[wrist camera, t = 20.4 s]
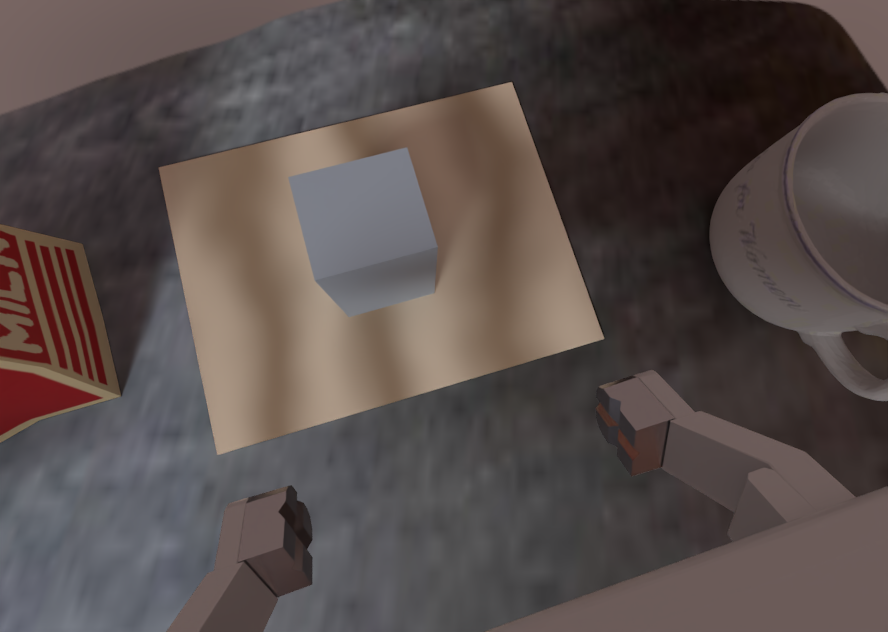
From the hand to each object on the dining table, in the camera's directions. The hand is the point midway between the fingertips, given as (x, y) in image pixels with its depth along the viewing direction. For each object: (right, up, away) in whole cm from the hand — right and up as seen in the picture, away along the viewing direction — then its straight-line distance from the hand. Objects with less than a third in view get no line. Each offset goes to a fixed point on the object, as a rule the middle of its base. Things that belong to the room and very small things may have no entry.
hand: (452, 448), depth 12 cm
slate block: (-4, +6, +14) cm, 16 cm away
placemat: (-4, +7, +15) cm, 17 cm away
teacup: (+19, +6, +16) cm, 25 cm away
